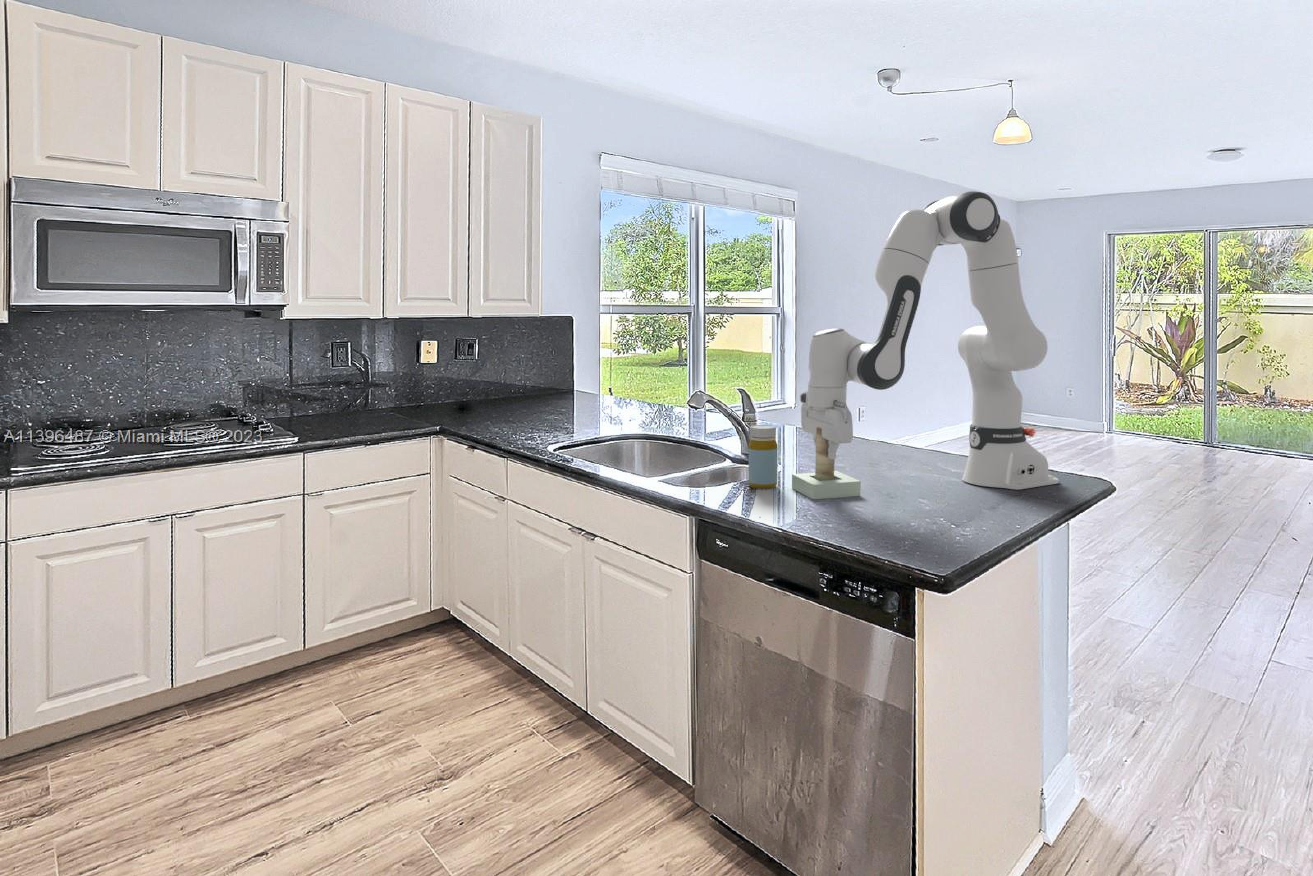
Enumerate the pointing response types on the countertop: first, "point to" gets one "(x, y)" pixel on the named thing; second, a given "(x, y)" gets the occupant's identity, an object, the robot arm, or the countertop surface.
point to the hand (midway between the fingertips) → (825, 456)
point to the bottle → (763, 457)
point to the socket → (826, 486)
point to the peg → (823, 458)
